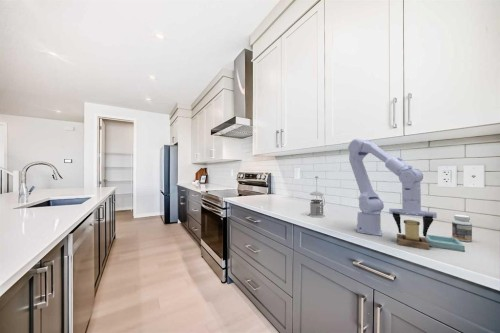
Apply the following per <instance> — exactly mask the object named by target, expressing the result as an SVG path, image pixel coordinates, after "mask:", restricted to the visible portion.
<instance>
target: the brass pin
mask: <svg viewBox="0 0 500 333" xmlns="http://www.w3.org/2000/svg"><path fill="white" fill-rule="evenodd" d="M403 224H404V235H405V240H410V241H417V242H419V237H420V224H421V222H420V221H419V220H413V219H403Z"/></svg>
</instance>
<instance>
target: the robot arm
mask: <svg viewBox="0 0 500 333" xmlns="http://www.w3.org/2000/svg"><path fill="white" fill-rule="evenodd" d="M347 148H348V151H349V155H348V160H349V163H350V166H351V169H352V173H353V175H354V178H355V181H356V184H357V188H358V189H359V190H358V191H359V192H360V195H359V197H358V208H359V209H360V211H361V212H360V211H358V212H357V221H356V222H357V223H356V227H357V233H360V234H368V235H375V236H381V237H382V235H383V234H382V232H383V231H382V229H381V228H382V227H381V226H382V224H381V221H382V220H381V213H382V211H383V210H384V207H385V206H384V205H385V204H384V202H383V201H382V199H381V198H380V197H379V194H378V193H377V192H376V191H374V190H373V186H372V183H371V181H370V178H369V174H368V172H367V170H366V166H365V165H364V162H363V161H364V158H365V157H366V156H367V155H368V154H369V153H370V154H371V155H373V156H374V157H376V158H378V159H379V160H380V161H382V162H383V163H384V164H385V165H384V166H385V168H386V169H388V170H389V171H390V172H392V173H393V174H394V175H395V176H397V177H398V180H399V182H400V183H401V190H402V191H401V192H402V193H401V194H402V195H401V196H402V197H401V198H402V200H401V202H402V207H401V208H388V210H389V212H388V213H389V215H392V217H393V219H394V222H395V223H396V226H397V229H398V234H402V228H401V218H402V217H401V215H402V216H410V217H411V216H413V217H422V223H423V224H422V225H423V226H422V235H423V236H422V237H426V235H428V231H429V228H430V227H431V225H432V224H433V222H434V219H437V217H438V216H437V212H435V211H426V210H422V205H421V204H422V203H421V202H422V201H421V200H422V198H421V197H422V196H421V195H422V194H421V193H422V192H421V190H422V189H421V182H422V181H423V179H424V174H423V173H422V171H421V170H420V169H419V168H413V165H411V164H410V165H409V164H408V163H406V162H405V161H403V158H402V157H398V156H391V155H390V154H388V153H387V152H386V151H385V150H383V149H382V148H380V146H378V145H377V144H376V143H374V142H373V141H371V140H368V139H359V138H354V139H352V140H351V141H350V143H349V145H348V147H347Z"/></svg>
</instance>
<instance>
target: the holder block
mask: <svg viewBox="0 0 500 333" xmlns="http://www.w3.org/2000/svg"><path fill="white" fill-rule="evenodd" d="M396 239H397V245H398V246H402V247H407V248H409V247H410V248H414V249H415V248H416V249H420V250H421V249H422V250H426V251H427V250H430V246H429V244H428V242H427V240H426V239H425V236H419V242H417V241H410V240H405V233H404V234H403V233H397V234H396Z"/></svg>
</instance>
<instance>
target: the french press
mask: <svg viewBox="0 0 500 333" xmlns="http://www.w3.org/2000/svg"><path fill="white" fill-rule="evenodd" d="M314 178H315V180H316V181H315V182H316V185H315V186H316V187H315V188H316V189H318V183H317V182H318V179H319V177H318V176H314ZM309 195H311V196H316V197H318V196H319V198H320V199H317V198H316V199H310V204H309V205H310V210H309V212H310V214H309V215H308V216H309V217H310V218H315V219H316V218H318V219H321V218H325V217H326V216H325V215H324V206H325V202H326V200H325V198H323V196H324V193H323V192H321V191H318V190H315V191H312V192H311V193H309Z"/></svg>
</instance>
